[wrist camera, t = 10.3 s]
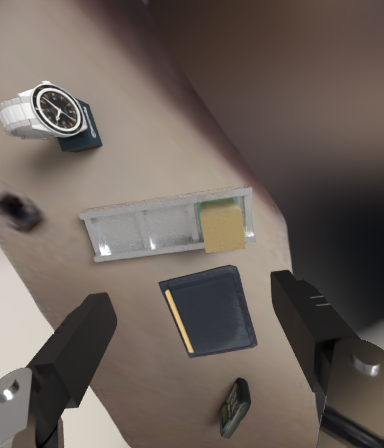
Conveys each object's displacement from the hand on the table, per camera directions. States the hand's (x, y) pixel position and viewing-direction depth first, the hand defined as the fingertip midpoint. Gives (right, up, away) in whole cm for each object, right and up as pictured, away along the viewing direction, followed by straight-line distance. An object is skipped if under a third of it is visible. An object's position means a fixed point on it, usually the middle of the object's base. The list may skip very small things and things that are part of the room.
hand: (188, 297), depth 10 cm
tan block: (+4, +5, +22) cm, 23 cm away
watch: (-16, +18, +20) cm, 31 cm away
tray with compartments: (-3, +4, +23) cm, 24 cm away
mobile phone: (+9, -37, +37) cm, 53 cm away
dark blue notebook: (+4, -14, +30) cm, 33 cm away
